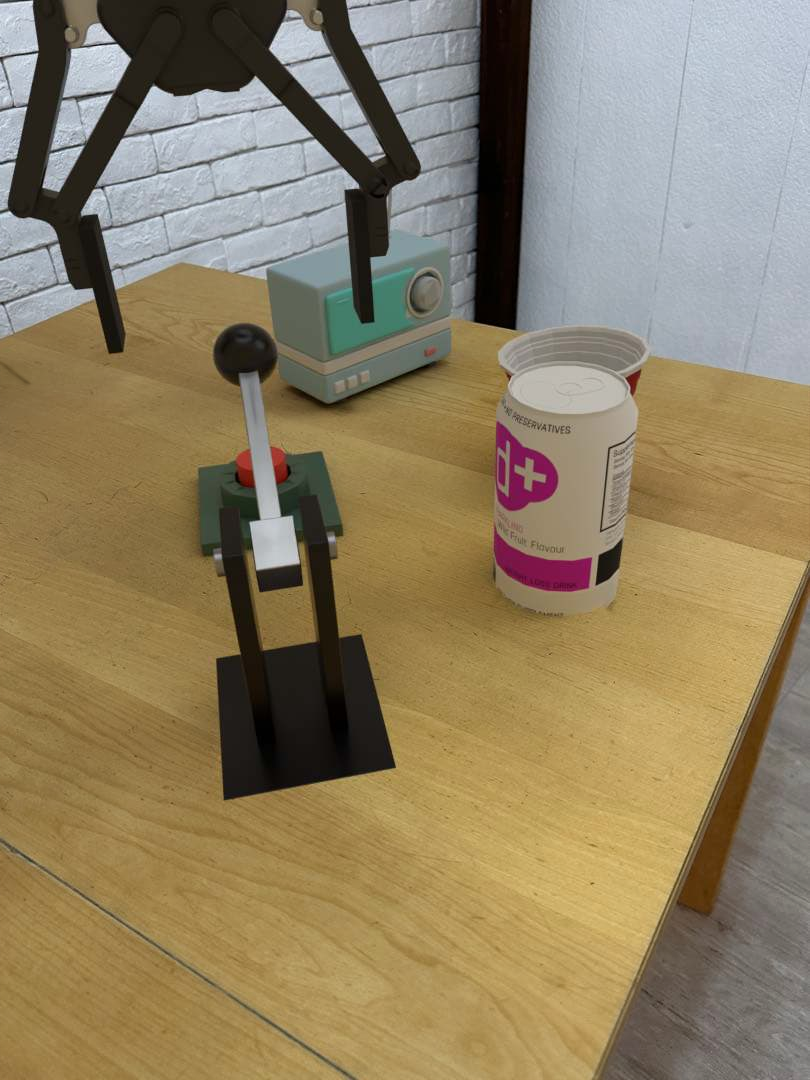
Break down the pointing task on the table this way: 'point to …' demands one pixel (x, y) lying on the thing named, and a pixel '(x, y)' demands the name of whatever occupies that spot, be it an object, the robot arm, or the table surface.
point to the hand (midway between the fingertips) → (243, 329)
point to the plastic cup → (578, 350)
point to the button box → (226, 491)
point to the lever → (260, 453)
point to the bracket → (294, 681)
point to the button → (247, 473)
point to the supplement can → (562, 486)
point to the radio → (335, 330)
